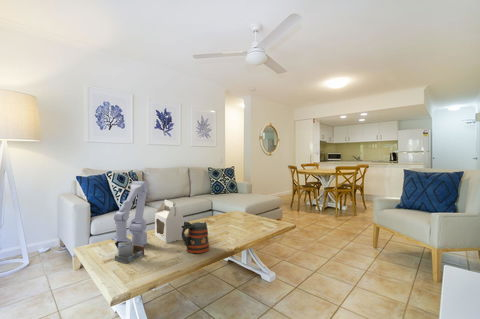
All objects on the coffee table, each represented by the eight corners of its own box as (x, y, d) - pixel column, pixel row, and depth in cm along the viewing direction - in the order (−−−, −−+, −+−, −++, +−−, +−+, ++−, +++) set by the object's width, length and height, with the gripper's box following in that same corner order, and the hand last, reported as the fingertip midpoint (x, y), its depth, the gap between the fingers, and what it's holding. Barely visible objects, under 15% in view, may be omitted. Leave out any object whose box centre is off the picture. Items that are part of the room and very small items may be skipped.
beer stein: (189, 258, 135) (190, 224, 135) (176, 251, 145) (176, 220, 145) (213, 249, 149) (213, 219, 149) (199, 243, 159) (199, 215, 159)
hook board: (120, 249, 147) (120, 241, 147) (144, 255, 139) (144, 246, 139) (101, 257, 136) (101, 248, 136) (126, 263, 127) (126, 254, 127)
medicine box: (131, 251, 140) (132, 240, 138) (132, 256, 137) (133, 244, 134) (117, 254, 136) (118, 242, 133) (118, 259, 132) (118, 247, 130)
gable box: (183, 239, 168) (183, 201, 168) (165, 243, 159) (166, 203, 159) (170, 232, 185) (171, 198, 185) (154, 235, 176) (155, 199, 176)
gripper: (107, 231, 137) (106, 253, 137) (124, 234, 131) (123, 258, 131) (117, 228, 144) (117, 249, 143) (134, 231, 138) (133, 253, 138)
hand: (121, 253), depth 138 cm, fingers closed
